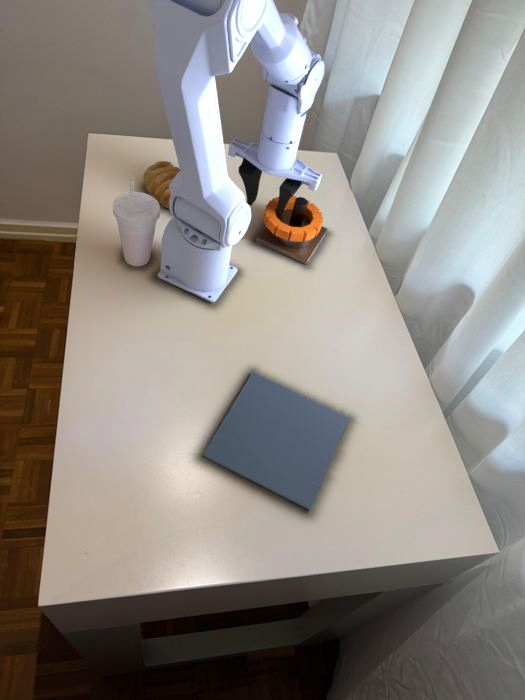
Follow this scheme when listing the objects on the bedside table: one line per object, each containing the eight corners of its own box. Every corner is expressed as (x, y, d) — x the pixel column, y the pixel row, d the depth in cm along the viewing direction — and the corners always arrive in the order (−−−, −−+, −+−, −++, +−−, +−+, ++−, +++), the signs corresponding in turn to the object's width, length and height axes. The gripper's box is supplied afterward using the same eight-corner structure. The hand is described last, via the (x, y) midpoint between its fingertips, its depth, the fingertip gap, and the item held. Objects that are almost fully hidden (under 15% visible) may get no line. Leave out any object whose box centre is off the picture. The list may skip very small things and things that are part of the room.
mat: (202, 456, 68) (202, 455, 68) (252, 373, 77) (252, 371, 76) (308, 511, 66) (309, 509, 66) (348, 419, 75) (349, 417, 74)
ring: (254, 226, 90) (256, 218, 89) (277, 196, 95) (279, 188, 94) (308, 249, 89) (310, 241, 87) (328, 217, 94) (330, 209, 93)
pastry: (200, 207, 95) (201, 189, 92) (162, 217, 92) (163, 198, 89) (175, 174, 99) (176, 155, 96) (138, 182, 96) (138, 163, 93)
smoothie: (116, 241, 87) (112, 162, 76) (159, 244, 88) (161, 166, 77) (113, 271, 83) (109, 193, 72) (158, 274, 85) (160, 197, 74)
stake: (255, 242, 92) (263, 205, 86) (278, 212, 98) (286, 175, 92) (306, 264, 91) (317, 228, 85) (326, 233, 96) (338, 197, 91)
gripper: (337, 138, 83) (315, 212, 94) (247, 102, 85) (236, 178, 96) (320, 162, 79) (298, 236, 90) (226, 123, 81) (216, 200, 92)
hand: (265, 208), depth 92 cm, fingers open, 4 cm apart
